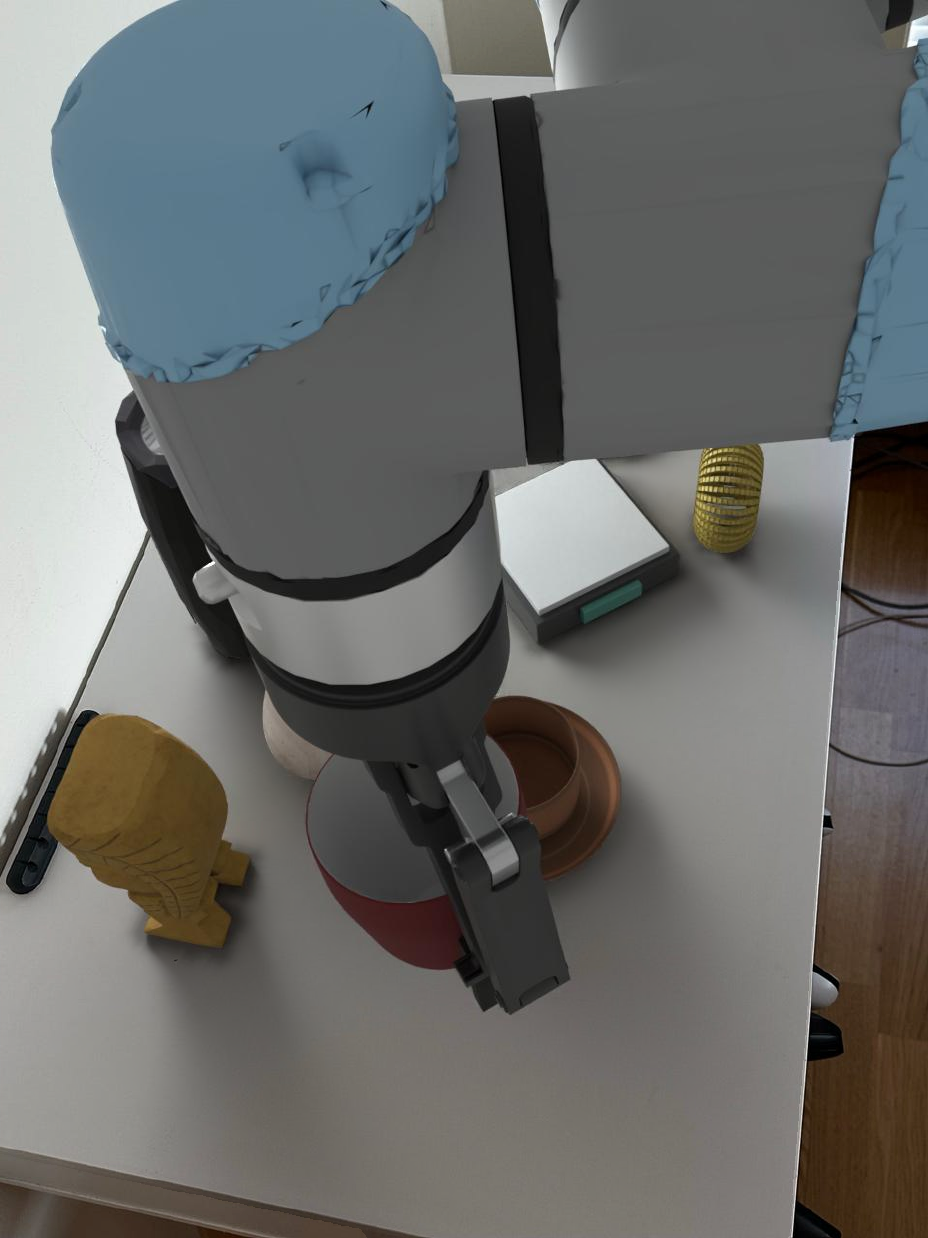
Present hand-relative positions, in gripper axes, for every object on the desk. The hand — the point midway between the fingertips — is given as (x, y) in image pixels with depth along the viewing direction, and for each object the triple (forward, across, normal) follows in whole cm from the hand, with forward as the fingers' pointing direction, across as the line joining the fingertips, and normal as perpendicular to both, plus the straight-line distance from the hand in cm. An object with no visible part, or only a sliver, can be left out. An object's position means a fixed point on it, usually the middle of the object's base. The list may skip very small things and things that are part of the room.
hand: (452, 894), depth 52 cm
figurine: (+16, -14, -11) cm, 24 cm away
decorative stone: (+16, -21, +2) cm, 27 cm away
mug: (+1, 0, 0) cm, 1 cm away
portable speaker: (+16, -30, 0) cm, 34 cm away
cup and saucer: (+16, -10, +8) cm, 20 cm away
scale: (+16, -24, +20) cm, 35 cm away
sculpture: (+16, -20, +30) cm, 40 cm away
